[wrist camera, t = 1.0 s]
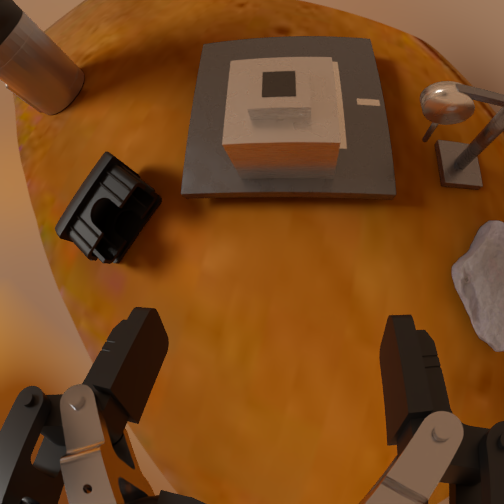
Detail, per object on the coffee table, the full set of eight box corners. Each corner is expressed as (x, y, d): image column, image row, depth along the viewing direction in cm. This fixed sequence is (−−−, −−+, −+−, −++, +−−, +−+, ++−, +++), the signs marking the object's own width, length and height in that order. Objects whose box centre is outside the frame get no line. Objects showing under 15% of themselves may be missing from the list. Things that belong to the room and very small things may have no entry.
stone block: (486, 355, 27) (539, 293, 25) (501, 367, 23) (559, 296, 21) (429, 279, 30) (486, 217, 28) (439, 282, 26) (502, 210, 24)
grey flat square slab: (186, 198, 31) (180, 194, 30) (206, 51, 34) (203, 44, 33) (392, 199, 28) (396, 194, 27) (368, 47, 31) (370, 38, 29)
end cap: (127, 166, 36) (97, 143, 29) (166, 196, 34) (137, 174, 28) (81, 234, 35) (45, 221, 29) (115, 269, 34) (79, 261, 27)
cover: (240, 178, 29) (216, 134, 21) (245, 104, 30) (226, 49, 22) (333, 178, 28) (342, 132, 19) (328, 102, 29) (332, 44, 21)
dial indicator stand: (392, 182, 30) (440, 108, 16) (388, 140, 31) (424, 54, 17) (478, 189, 28) (549, 133, 15) (470, 149, 29) (530, 82, 15)
